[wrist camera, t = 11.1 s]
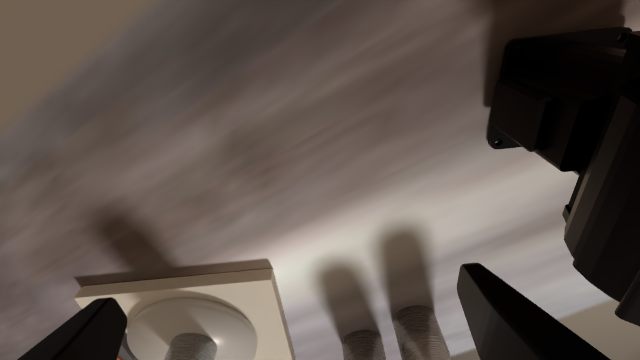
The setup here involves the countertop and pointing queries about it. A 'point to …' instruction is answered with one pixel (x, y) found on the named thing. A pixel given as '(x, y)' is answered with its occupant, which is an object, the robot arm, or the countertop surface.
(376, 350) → the spacer
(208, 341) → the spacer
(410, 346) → the spacer
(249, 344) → the scale
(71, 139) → the countertop surface
